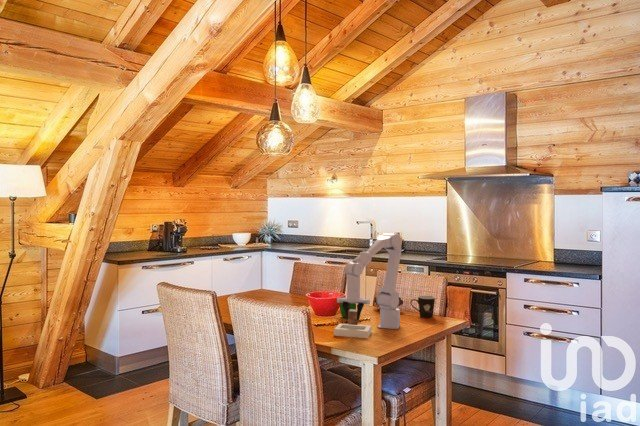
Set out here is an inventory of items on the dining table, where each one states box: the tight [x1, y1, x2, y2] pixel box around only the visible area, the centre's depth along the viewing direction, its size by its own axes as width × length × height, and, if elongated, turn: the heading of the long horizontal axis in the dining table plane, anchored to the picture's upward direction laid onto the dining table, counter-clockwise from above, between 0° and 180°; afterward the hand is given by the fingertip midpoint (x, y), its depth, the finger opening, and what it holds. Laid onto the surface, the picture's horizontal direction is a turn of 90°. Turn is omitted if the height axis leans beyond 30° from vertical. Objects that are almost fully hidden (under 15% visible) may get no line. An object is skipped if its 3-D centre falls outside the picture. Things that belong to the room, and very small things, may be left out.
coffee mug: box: [410, 295, 436, 319], centre depth 269 cm, size 12×9×10 cm
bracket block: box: [347, 309, 360, 325], centre depth 236 cm, size 4×4×6 cm
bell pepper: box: [339, 303, 357, 319], centre depth 267 cm, size 8×8×10 cm
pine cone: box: [372, 293, 404, 308], centre depth 283 cm, size 18×10×10 cm, turn 57°
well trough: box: [333, 323, 373, 339], centre depth 236 cm, size 15×10×3 cm, turn 75°
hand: (353, 319), depth 235 cm, fingers closed on bracket block, 4 cm apart
